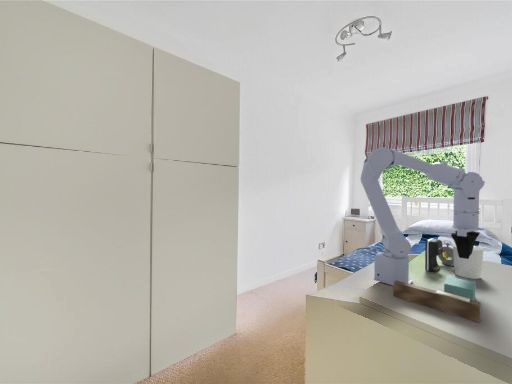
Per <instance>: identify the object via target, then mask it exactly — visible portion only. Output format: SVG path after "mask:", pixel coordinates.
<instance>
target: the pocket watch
mask: <svg viewBox="0 0 512 384" xmlns="http://www.w3.org/2000/svg"><path fill="white" fill-rule="evenodd" d="M443 243H444V244H445V245H446V246H445V245H444V246H443V252H442V254H440V255H438V256H437V257H438V259H439V260H440V261H441V263H442V264H443V265H447V266H450V267H455V266H454V258H453V247H451V246H450V245H452V242H451V241H450V240H447V242H446V240H444V241H443Z"/></svg>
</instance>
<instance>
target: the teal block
mask: <svg viewBox="0 0 512 384" xmlns="http://www.w3.org/2000/svg"><path fill="white" fill-rule="evenodd" d="M476 286H477V285H476V281H472V280H466V279H462V278H458V277H451V276H447V278H446V280H445V282H444V283H443V292H446V293H450V294H454V295H458V296H461V297H465V298H469V299H470V300H473V301H476V290H477V287H476Z"/></svg>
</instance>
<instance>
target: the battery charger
mask: <svg viewBox="0 0 512 384" xmlns="http://www.w3.org/2000/svg"><path fill="white" fill-rule="evenodd" d="M424 245H425V247H424V250H425V251H424V257H425V259H424V267H425V268H424V269H425V271H427V272H434V273H436V272H438V271H439V270H440V269H441V266H440V265H439V263H438V261H437V260H438V258H437V257H438V255H440V254H442V252H443V247H444V246H443V240H441V239H437V238H429V239H426V240H425V244H424ZM443 253H444V252H443Z"/></svg>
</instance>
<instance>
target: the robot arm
mask: <svg viewBox="0 0 512 384" xmlns="http://www.w3.org/2000/svg"><path fill="white" fill-rule="evenodd" d="M393 166H401V167H404V168H407V169H410V170H414V171H416V172H420V173H423V174H425V176H426V178H427V179H428V180H431V181H433V182H435V183H439V184H442V185H444V186H448V187H450V188H451V189H452V190H453V220H452V221H453V225H452V229H454V230H455V232H452V233H451V234H450V237H451V238H452V240H453V242H454V244H456V247H457V251H458V255H459V258H465V259H469V256H470V255H471V254H472V251H473V247H474V246H475V243H476V240H477V238H478V236H479V235H480V234H481V231H484V230H485V227H481V226H480V225H479V222H480V221H479V218H480V217H479V215H480V212H479V211H480V210H479V209H480V191H481V190H482V189H483V187H484V186H485V180H483V177H482V176H480V174H479V173H477V172H473V171H468V172H467V171H465V168H462V167H455V166H452V165H448V162H447V161H436V162H434V163H433V162H432V163H430V162H427V161H425V160H422V159H419V158H417V157H414V156H412V155H409V154H406V153H404V152H401V151H398V150H396V149H389V148H388V147H381V146H380V147H378V148H376V149H374V150H373V151H372V152H370V153H369V154H368V155H367V156H366V158H365V159H364V160H363V166H362V170H361V173H360V182H361V184H362V187H363V189H364V192H365V194H366V197H367V199H368V202H369V204H370V206H371V209H372V211H373V214H374V217H375V218H376V221H377V223H378V225H379V228H380V234H381V236H382V238H381V243H382V246H383V247H384V249H383V251H378V252H377V253H376V254H375V256H374V276H373V277H374V278H373V280H374V281H376V282H379V283H384V284H387V285H390V286H393V287H394V281H396V280H397V281H401V282H405V283H408V284H413V282H414V281H413V279H410V278H409V276H410V275H409V267H410V265H409V264H410V263H409V261H410V260H409V255H410V254H411V251H412V245H411V243H410V241H408V240H407V238H405V237H404V235H403V232H402V231H401V230H400V228H399V227H398V224H397V223H396V220H395V217H394V215H393V213H392V211H391V208H390V205H389V203H388V201H387V198H386V197H385V194H384V192H383V189H382V187H381V184H380V182H379V178H380V177H381V175H382V174H383V172H384V170H386V168H388V167H393ZM479 231H480V232H479Z"/></svg>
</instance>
